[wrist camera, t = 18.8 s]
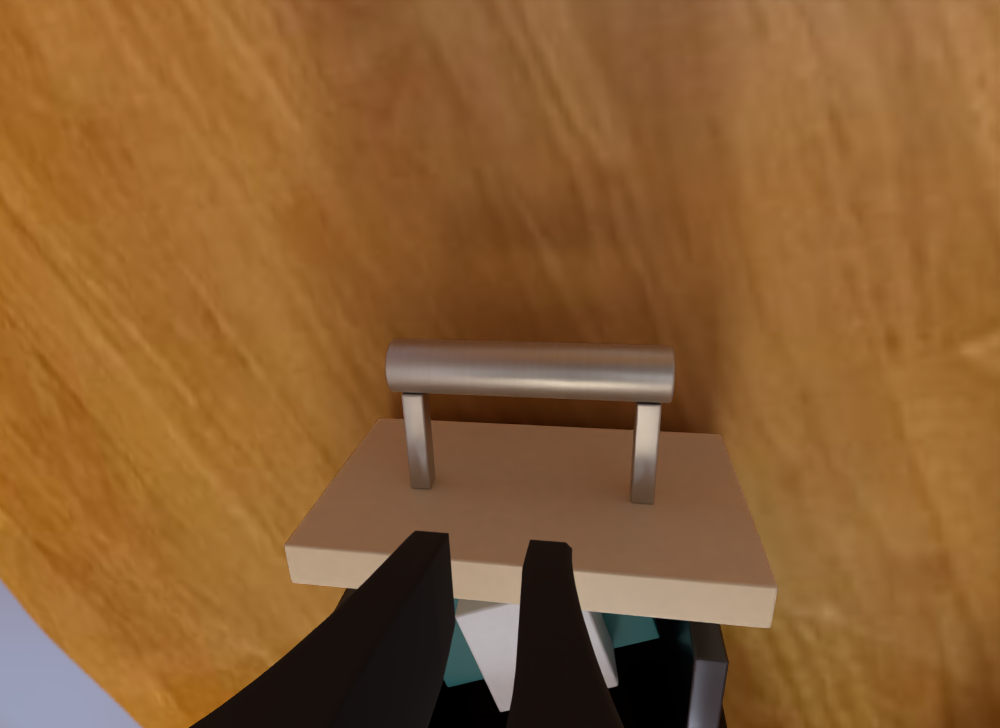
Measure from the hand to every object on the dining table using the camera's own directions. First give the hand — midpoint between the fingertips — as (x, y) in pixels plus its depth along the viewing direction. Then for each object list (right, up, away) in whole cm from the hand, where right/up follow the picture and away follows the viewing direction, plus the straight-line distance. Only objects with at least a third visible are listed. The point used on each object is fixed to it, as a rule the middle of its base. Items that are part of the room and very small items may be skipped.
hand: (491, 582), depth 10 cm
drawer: (+2, -2, +11) cm, 12 cm away
